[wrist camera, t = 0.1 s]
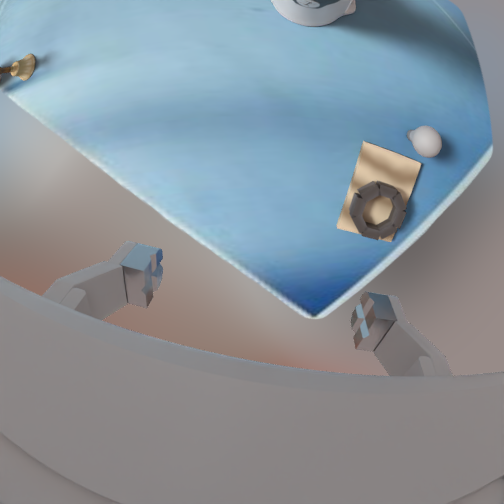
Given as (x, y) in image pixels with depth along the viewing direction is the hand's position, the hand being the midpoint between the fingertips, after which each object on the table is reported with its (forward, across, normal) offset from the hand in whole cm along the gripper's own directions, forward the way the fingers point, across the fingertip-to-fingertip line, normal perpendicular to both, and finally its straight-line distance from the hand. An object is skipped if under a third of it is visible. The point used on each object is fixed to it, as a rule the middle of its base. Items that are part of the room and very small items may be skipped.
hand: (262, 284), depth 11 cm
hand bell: (+48, +73, -16) cm, 89 cm away
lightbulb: (+48, -27, -8) cm, 56 cm away
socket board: (+48, -24, +7) cm, 54 cm away
